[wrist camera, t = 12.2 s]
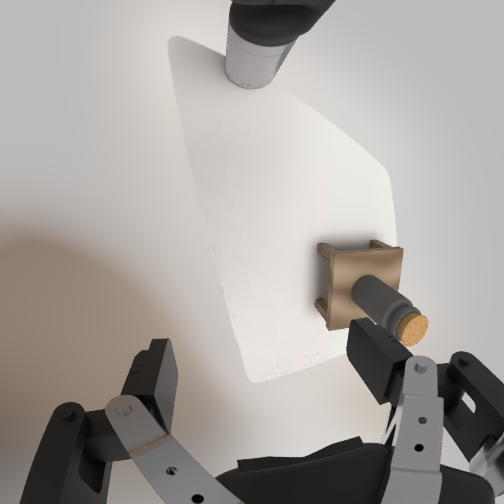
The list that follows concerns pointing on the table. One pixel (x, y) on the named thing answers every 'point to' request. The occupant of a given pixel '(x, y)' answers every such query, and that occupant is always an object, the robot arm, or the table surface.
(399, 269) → the wooden bench
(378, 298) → the bottle
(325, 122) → the table surface
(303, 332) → the table surface
